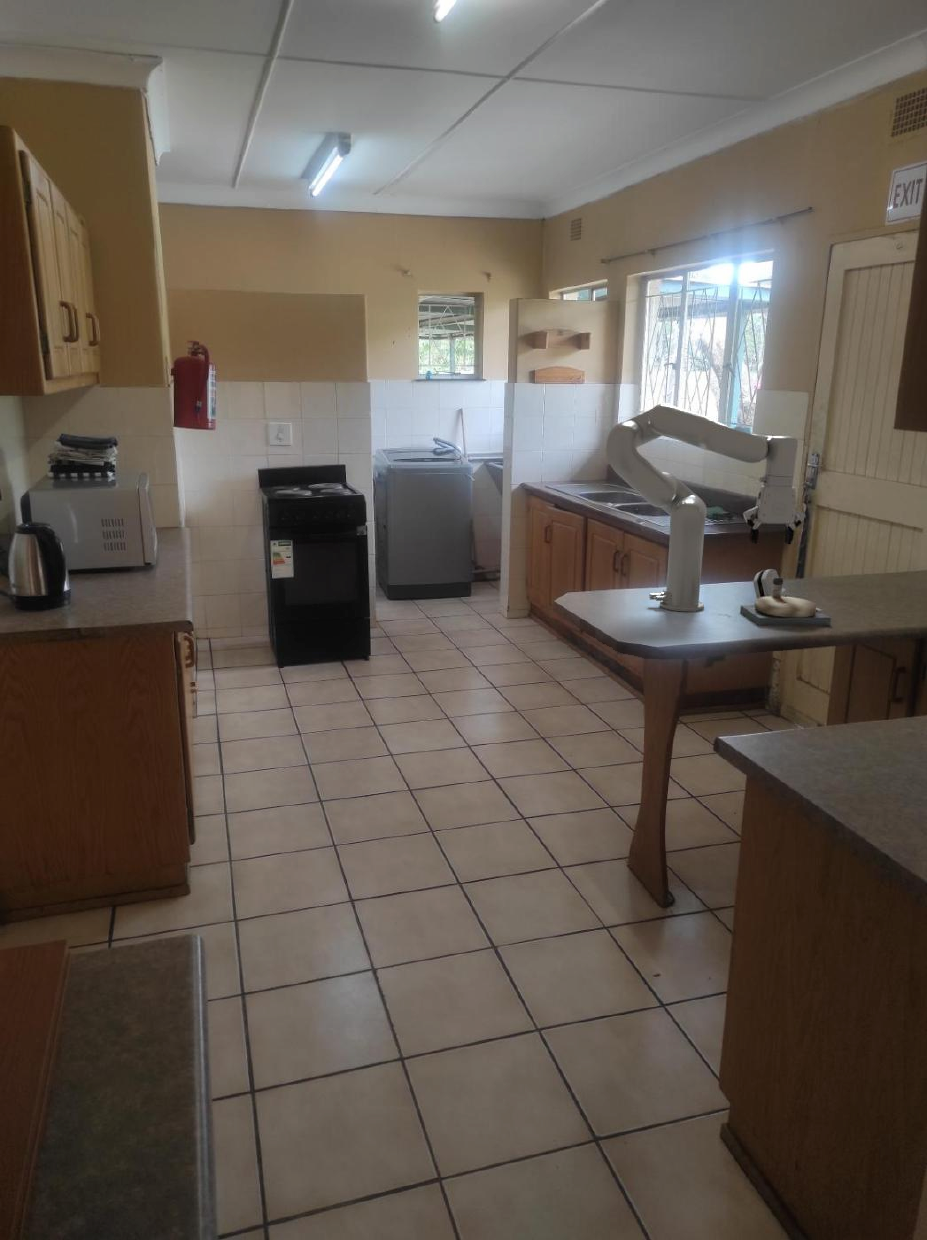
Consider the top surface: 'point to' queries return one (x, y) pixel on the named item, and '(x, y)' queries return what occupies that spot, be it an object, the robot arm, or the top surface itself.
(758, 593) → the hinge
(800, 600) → the wheel
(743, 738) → the top surface
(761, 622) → the wheel base
